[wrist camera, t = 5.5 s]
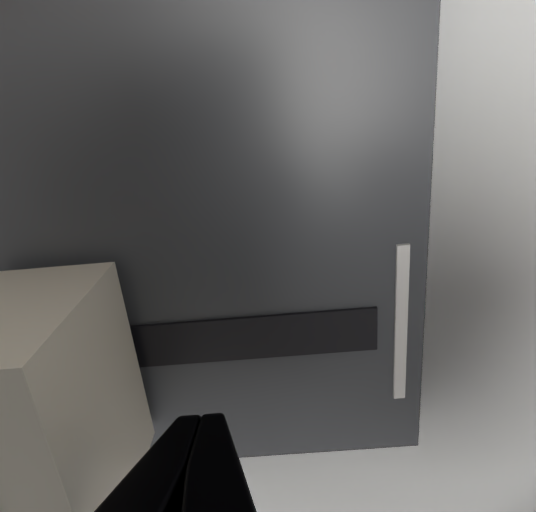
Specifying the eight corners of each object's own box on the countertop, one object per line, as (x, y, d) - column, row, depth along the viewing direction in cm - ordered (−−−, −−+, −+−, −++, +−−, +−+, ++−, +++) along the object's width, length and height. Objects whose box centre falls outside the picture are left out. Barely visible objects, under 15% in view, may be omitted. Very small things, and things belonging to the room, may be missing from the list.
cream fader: (114, 261, 10) (13, 376, 6) (154, 432, 12) (97, 607, 8) (-15, 272, 10) (-198, 392, 6) (45, 440, 12) (-65, 616, 8)
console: (441, -573, 7) (480, -722, 5) (405, 415, 13) (419, 448, 12) (-312, -469, 7) (-434, -587, 6) (29, 442, 14) (6, 476, 13)
